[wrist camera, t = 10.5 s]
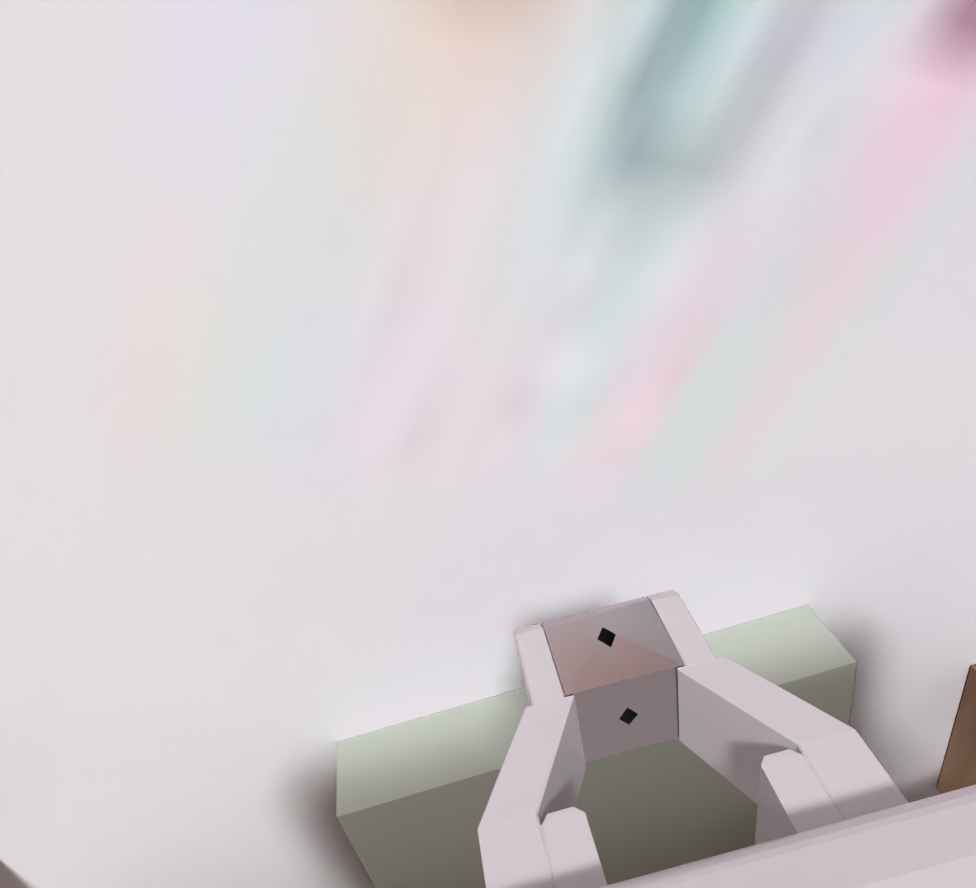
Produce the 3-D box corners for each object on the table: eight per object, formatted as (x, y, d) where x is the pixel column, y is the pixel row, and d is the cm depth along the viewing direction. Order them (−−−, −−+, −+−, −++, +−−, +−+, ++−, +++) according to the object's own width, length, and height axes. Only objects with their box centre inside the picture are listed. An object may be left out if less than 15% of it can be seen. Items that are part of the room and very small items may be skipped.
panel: (799, 594, 23) (857, 661, 20) (786, 797, 29) (829, 868, 26) (337, 728, 22) (336, 816, 19) (425, 909, 28) (433, 994, 25)
